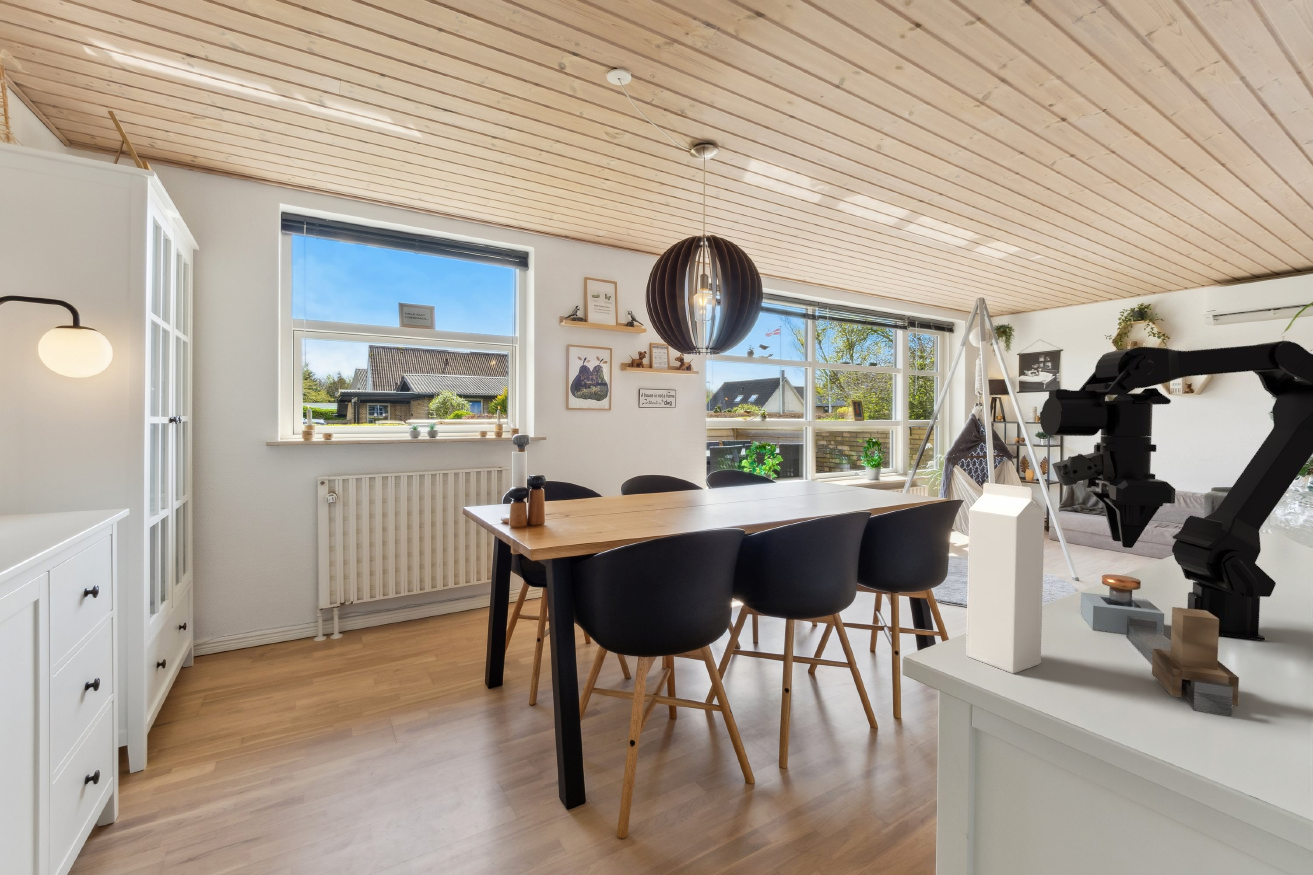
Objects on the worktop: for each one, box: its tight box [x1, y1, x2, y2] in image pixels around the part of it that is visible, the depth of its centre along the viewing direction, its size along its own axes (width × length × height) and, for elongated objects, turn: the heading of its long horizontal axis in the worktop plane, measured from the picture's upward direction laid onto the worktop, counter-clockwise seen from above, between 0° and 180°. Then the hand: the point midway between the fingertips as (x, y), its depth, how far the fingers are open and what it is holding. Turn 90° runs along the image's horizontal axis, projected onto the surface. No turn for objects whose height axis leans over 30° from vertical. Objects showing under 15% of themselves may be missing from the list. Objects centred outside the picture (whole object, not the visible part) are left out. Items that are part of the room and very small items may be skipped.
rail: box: [1125, 616, 1233, 717], centre depth 70 cm, size 3×22×3 cm, turn 156°
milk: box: [965, 482, 1046, 675], centre depth 73 cm, size 6×6×22 cm
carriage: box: [1151, 606, 1240, 707], centre depth 64 cm, size 5×6×8 cm
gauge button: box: [1101, 573, 1142, 607], centre depth 85 cm, size 4×4×4 cm
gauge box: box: [1080, 591, 1165, 636], centre depth 85 cm, size 8×7×4 cm
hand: (1122, 544), depth 85 cm, fingers open, 4 cm apart
